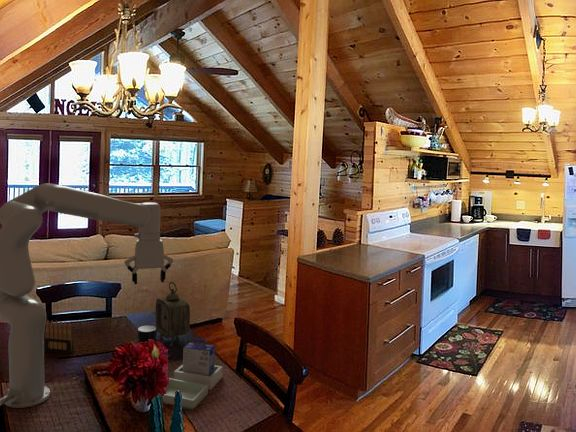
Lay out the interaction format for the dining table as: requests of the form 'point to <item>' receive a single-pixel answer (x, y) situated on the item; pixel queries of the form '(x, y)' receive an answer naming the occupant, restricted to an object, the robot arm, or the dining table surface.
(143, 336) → the ink bottle
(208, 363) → the ink cartridge box
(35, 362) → the robot arm
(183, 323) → the ring-top lantern
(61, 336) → the ammunition clip
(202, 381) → the tray
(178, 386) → the parts tray
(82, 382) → the dining table surface
